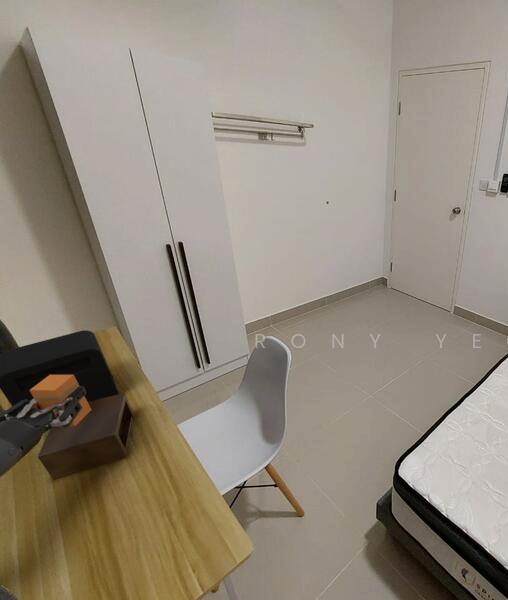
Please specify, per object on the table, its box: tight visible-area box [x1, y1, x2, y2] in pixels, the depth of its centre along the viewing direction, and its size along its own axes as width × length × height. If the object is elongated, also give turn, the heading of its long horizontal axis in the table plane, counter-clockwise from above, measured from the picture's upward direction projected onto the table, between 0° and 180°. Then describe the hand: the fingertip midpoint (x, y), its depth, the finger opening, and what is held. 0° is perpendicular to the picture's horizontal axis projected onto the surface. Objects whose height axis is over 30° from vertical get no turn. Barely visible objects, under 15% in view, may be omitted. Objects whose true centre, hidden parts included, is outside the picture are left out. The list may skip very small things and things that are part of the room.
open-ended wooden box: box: [37, 392, 135, 481], centre depth 86 cm, size 14×16×9 cm
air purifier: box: [0, 329, 120, 412], centre depth 96 cm, size 20×15×20 cm
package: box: [30, 375, 91, 427], centre depth 74 cm, size 5×5×11 cm
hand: (70, 389), depth 76 cm, fingers closed on package, 5 cm apart
